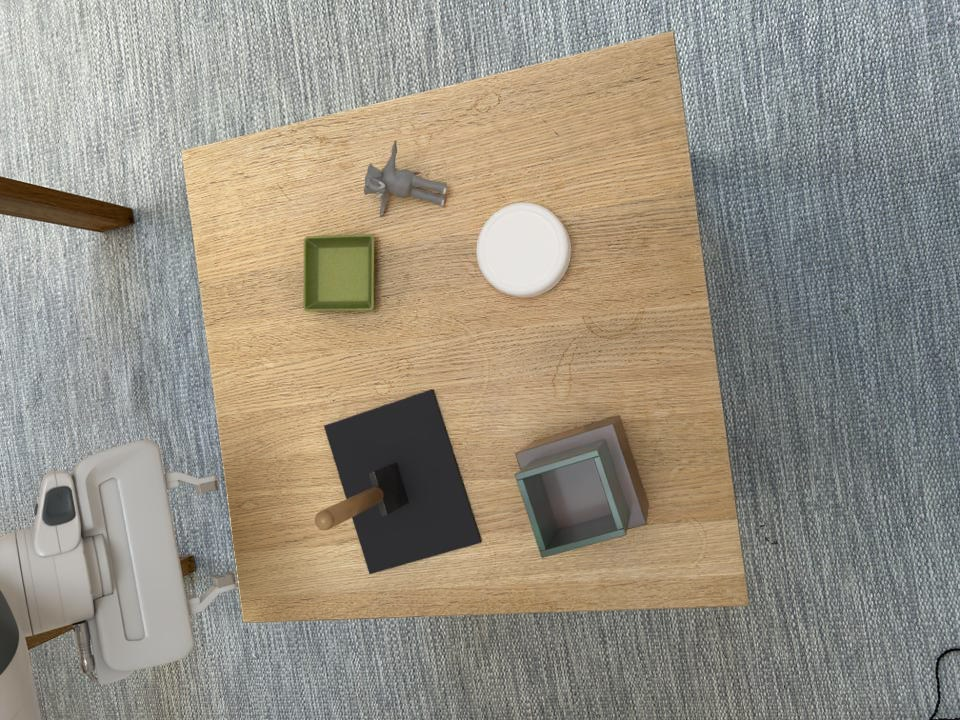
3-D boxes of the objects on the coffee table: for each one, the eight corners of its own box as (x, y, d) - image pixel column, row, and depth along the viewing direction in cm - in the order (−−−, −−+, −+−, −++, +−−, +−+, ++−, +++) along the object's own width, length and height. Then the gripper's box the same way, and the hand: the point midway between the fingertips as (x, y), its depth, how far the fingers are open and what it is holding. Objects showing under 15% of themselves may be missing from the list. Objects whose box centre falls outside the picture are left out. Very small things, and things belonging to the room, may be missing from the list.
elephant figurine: (433, 245, 87) (355, 225, 86) (439, 214, 92) (364, 195, 90) (453, 172, 80) (368, 149, 79) (458, 142, 84) (377, 120, 83)
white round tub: (525, 188, 85) (520, 181, 81) (590, 249, 83) (587, 245, 80) (464, 255, 86) (456, 251, 83) (527, 316, 85) (521, 315, 81)
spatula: (413, 501, 87) (337, 545, 67) (399, 505, 88) (319, 551, 68) (400, 460, 88) (321, 493, 68) (386, 465, 88) (303, 498, 68)
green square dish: (311, 238, 91) (303, 235, 89) (380, 236, 89) (373, 233, 87) (311, 312, 91) (302, 311, 89) (380, 311, 89) (373, 310, 87)
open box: (649, 504, 82) (644, 545, 64) (560, 528, 84) (532, 575, 67) (619, 414, 83) (606, 431, 65) (532, 441, 85) (497, 465, 67)
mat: (482, 541, 86) (480, 542, 86) (371, 572, 89) (369, 574, 89) (433, 389, 87) (431, 389, 87) (325, 425, 91) (323, 425, 90)
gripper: (86, 701, 63) (253, 644, 71) (44, 457, 64) (213, 425, 71) (81, 683, 69) (237, 632, 76) (42, 458, 69) (200, 429, 77)
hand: (225, 530), depth 74 cm, fingers open, 8 cm apart
